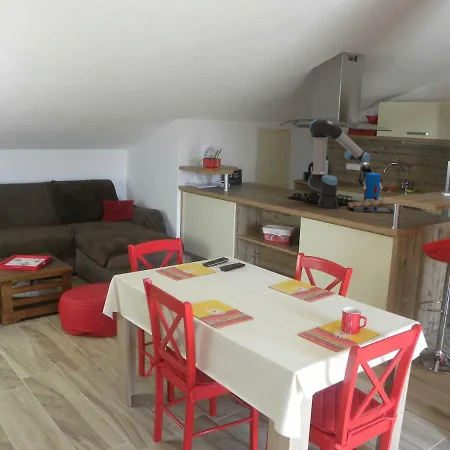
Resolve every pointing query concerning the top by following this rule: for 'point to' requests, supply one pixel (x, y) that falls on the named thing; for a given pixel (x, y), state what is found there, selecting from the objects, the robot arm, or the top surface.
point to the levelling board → (368, 203)
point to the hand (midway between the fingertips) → (373, 189)
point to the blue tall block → (372, 186)
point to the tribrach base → (372, 209)
